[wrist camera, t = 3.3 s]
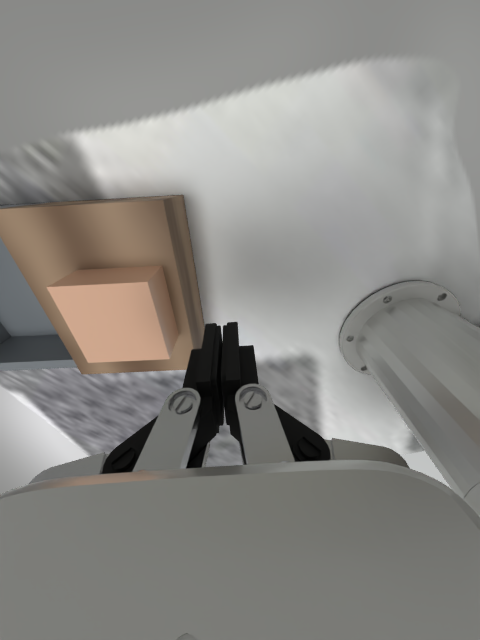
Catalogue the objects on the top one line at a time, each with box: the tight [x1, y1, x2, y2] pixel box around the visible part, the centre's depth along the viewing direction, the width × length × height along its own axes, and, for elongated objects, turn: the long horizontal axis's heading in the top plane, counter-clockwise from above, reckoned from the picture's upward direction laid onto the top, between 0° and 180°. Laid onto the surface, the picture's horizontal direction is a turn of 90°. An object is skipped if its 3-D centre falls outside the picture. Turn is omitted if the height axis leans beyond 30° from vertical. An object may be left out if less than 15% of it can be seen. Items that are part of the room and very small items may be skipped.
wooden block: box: [0, 195, 205, 374], centre depth 20 cm, size 11×14×6 cm
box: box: [0, 202, 77, 371], centre depth 20 cm, size 12×14×5 cm
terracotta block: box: [47, 266, 179, 363], centre depth 16 cm, size 6×6×3 cm
